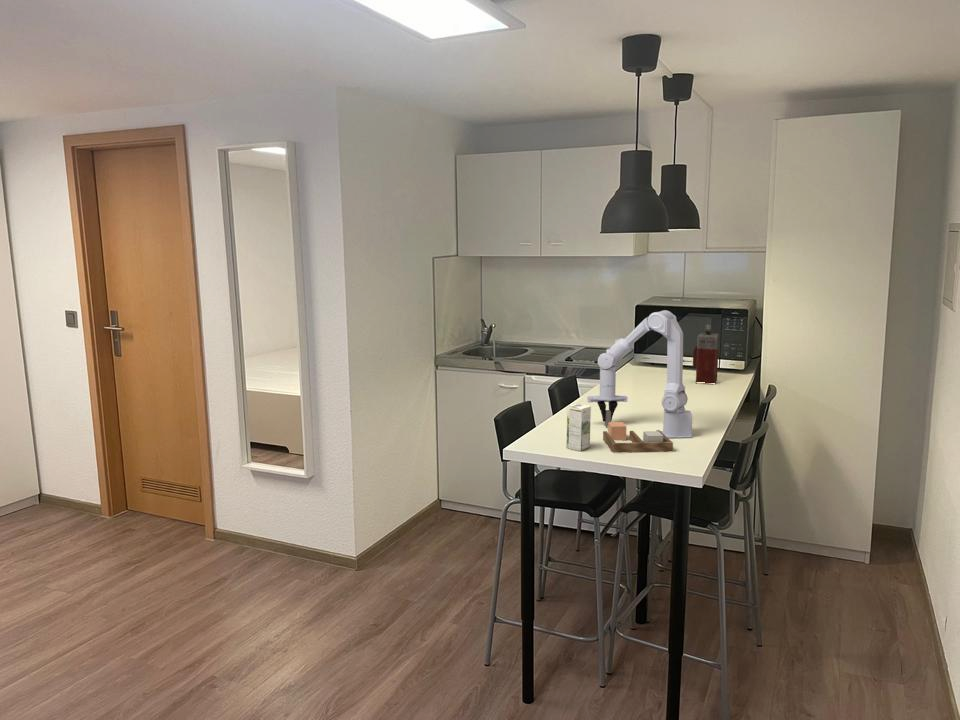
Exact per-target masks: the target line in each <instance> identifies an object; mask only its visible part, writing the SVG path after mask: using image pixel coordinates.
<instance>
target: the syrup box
mask: <svg viewBox="0 0 960 720" xmlns="http://www.w3.org/2000/svg"><path fill="white" fill-rule="evenodd" d="M566 411H567V412H566V415H567V416H566V418H567V419H566V449H567V448H569V450H572V449H573V450H572V451H577V452H582V451H584V450H587V449H589V448H590V447H591V442H590V441H591V416H592V415H591V414H592V413H591V412H592V407H591V405H587V404H584V403H575V404H572V405H569V406H567V410H566Z"/></svg>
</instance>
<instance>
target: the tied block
mask: <svg viewBox="0 0 960 720" xmlns="http://www.w3.org/2000/svg"><path fill="white" fill-rule="evenodd" d="M605 415H606V421H605V422H604V427H605V426H606V427H605V428H606V429H607V432H608V434H609V435H610V436H611V437H612V439H613V440H622V441H627V425H626V424H625V423H624V422H623V421H611V411H610V410H609V409H606V412H605ZM607 427H608V428H607Z"/></svg>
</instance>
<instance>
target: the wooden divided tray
mask: <svg viewBox="0 0 960 720" xmlns="http://www.w3.org/2000/svg"><path fill="white" fill-rule="evenodd" d="M655 431H659V432H660V433H661V434H662V435H663V442H643V439H641V438H640V436H639V435H638V434H637V433H636V432H635V431H634V430H629V441H630V442H616V441H614V440H613V439H612V437H611V436H610V435H609V434H608V430H607V431H606V430H604V431H602V440H603V442H604V441H605V442H604V443H605V444H606V446H607V445H608V446H607V448H608V449H609V450H610V449H611V450H610V451H611V453H612V452H628V453H660V452H659V451H673V449H674V448H673V447H674V442H673V441H672V440H670V438H667V437H666V436H665V435H664V434H663V433H662V432H661V431H662V430H660V429H657V430H655ZM631 441H632V442H631Z"/></svg>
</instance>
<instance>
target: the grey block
mask: <svg viewBox="0 0 960 720" xmlns="http://www.w3.org/2000/svg"><path fill="white" fill-rule="evenodd" d="M642 433H643V434H642V435H643V436H642V438H643V439H642V441H643V442H663V435H662V434H661V433H660V432H659V431H656V430H649V431H648V430H644V431H643V432H642Z"/></svg>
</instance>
